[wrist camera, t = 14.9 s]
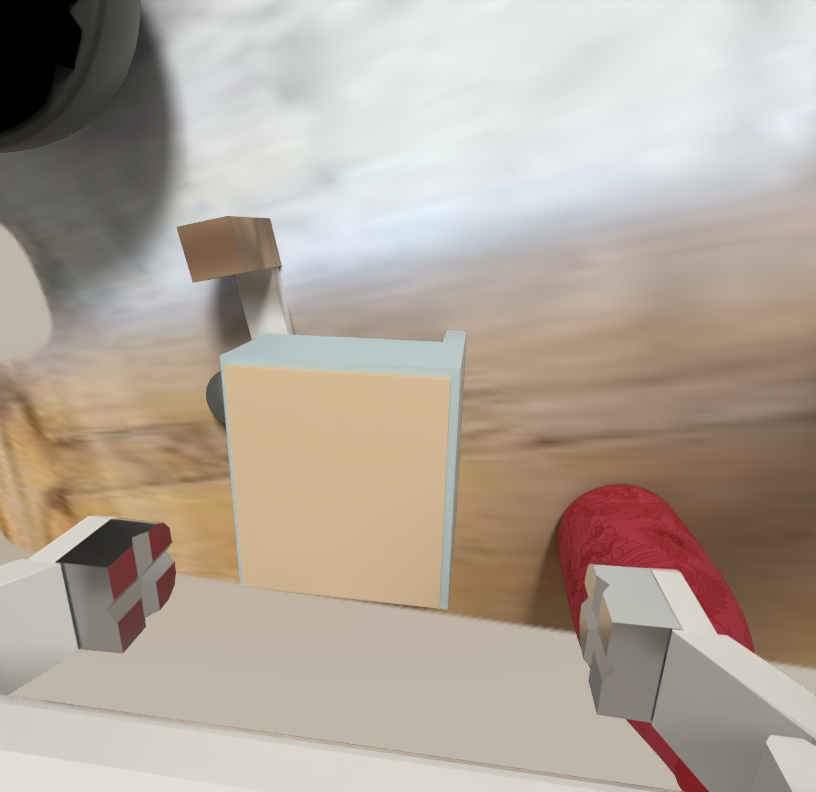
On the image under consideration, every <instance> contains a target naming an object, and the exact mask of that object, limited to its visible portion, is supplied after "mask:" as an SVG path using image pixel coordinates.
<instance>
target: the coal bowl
mask: <svg viewBox="0 0 816 792" xmlns="http://www.w3.org/2000/svg"><path fill="white" fill-rule="evenodd" d="M139 25H140V0H0V153H5V152H15V151H22V150H27V149H32V148H36V147H40V146H44V145H47V144H50V143H53V142H55V141H58V140H60V139H63V138H65V137H67V136H69V135H71V134H72V133H74V132H76V131H78V130H79V129H81V128H83V127H84V126H86V125H87V124H88V123H90V122H91V121H92V120H94V119H95V118H96V117H97V116H98V115H99V114H100V113H101V112H102V111H103V110H104V109H105V108H106V106H107V105H108V104H109V103H110V102H111V100H112V99H113V98H114V97H115V95H116V94H117V92H118V91H119V89H120V88H121V86H122V84H123V82H124V80H125V78H126V76H127V74H128V71H129V68H130V66H131V63H132V60H133V57H134V53H135V50H136V45H137V40H138V34H139Z"/></svg>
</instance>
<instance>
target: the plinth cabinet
mask: <svg viewBox="0 0 816 792" xmlns="http://www.w3.org/2000/svg"><path fill="white" fill-rule="evenodd" d="M466 333H467V331H457V330H447V331H446V334H445V336H444V339H443V342H434V341H413V340H393V339H372V338H351V337H331V336H310V335H290V334H269V333H266V334H264V335H262V336H260V337H258V338H256V339H254V340H252V341H250V342H247V343H245V344H243V345H241V346H239V347H237V348H235V349H233V350H231V351H229V352H226V353H224V354H222V355H220V365H221V376H222V387H223V398H224V409H225V420H226V431H227V442H228V453H229V464H230V475H231V486H232V497H233V508H234V519H235V530H236V541H237V552H238V563H239V574H240V585H241V587H249V588H258V589H267V590H276V591H285V592H294V593H303V594H312V595H321V596H330V597H339V598H348V599H357V600H366V601H375V602H384V603H393V604H402V605H411V606H420V607H429V608H438V609H447V610H448V600H449V589H450V579H451V568H452V557H453V546H454V535H455V524H456V511H457V493H458V475H459V458H460V440H461V422H462V404H463V386H464V368H465V350H466Z"/></svg>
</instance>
